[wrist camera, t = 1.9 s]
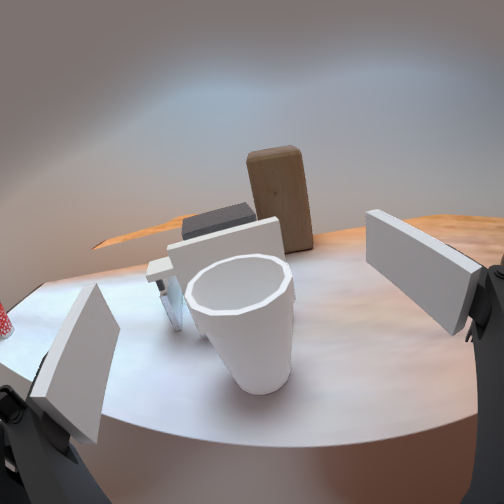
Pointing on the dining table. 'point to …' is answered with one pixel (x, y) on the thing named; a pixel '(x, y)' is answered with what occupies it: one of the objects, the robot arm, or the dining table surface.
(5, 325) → the beverage cup
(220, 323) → the foam cup
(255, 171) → the wooden block
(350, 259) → the dining table surface
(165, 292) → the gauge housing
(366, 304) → the dining table surface
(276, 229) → the gauge slider
